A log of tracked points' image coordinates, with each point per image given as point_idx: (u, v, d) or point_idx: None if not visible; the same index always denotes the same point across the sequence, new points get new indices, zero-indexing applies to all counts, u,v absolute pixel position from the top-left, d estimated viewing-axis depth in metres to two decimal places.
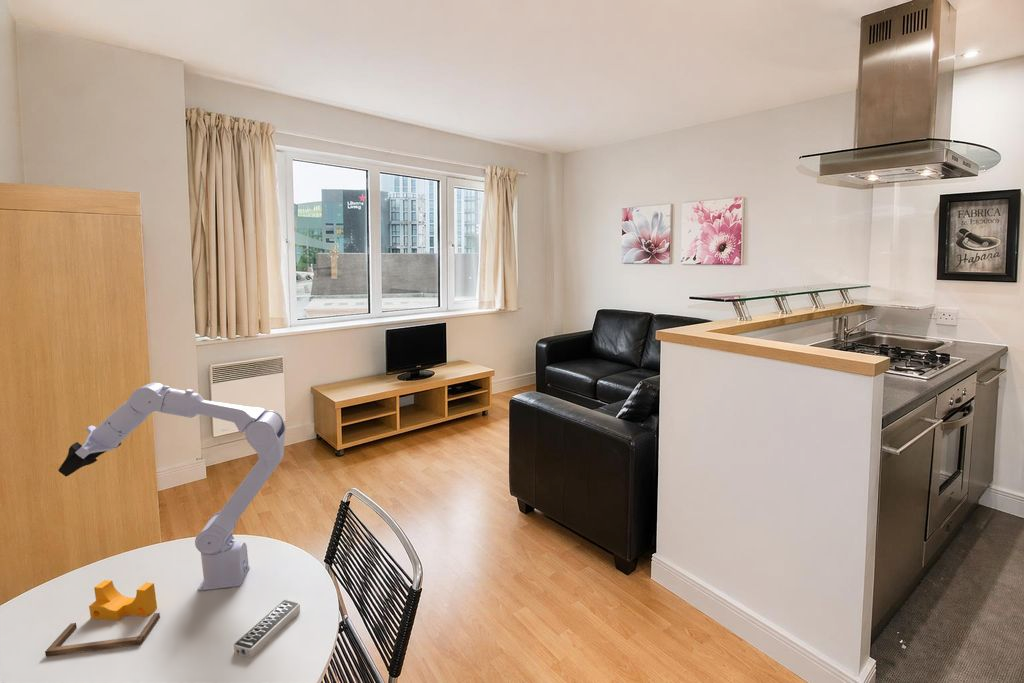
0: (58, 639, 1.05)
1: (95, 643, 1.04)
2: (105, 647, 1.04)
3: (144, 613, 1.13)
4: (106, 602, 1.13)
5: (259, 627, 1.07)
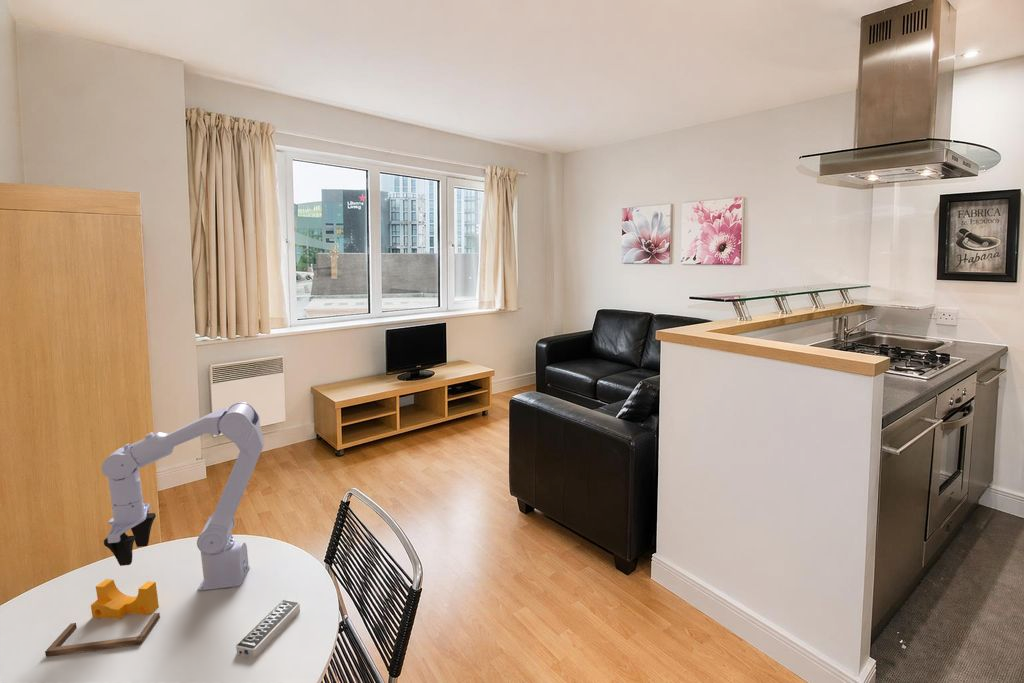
0: (58, 639, 1.05)
1: (95, 643, 1.04)
2: (105, 647, 1.04)
3: (146, 612, 1.14)
4: (108, 601, 1.14)
5: (260, 627, 1.07)
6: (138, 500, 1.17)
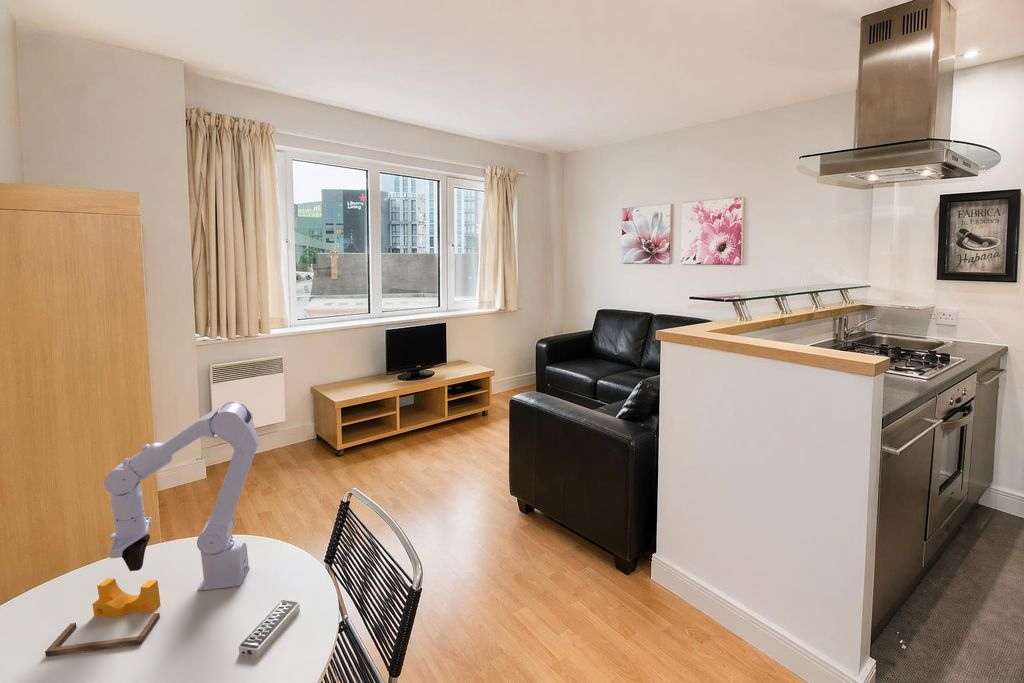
0: (58, 639, 1.05)
1: (95, 643, 1.04)
2: (105, 647, 1.04)
3: (148, 610, 1.14)
4: (109, 600, 1.14)
5: (262, 628, 1.07)
6: (140, 515, 1.17)
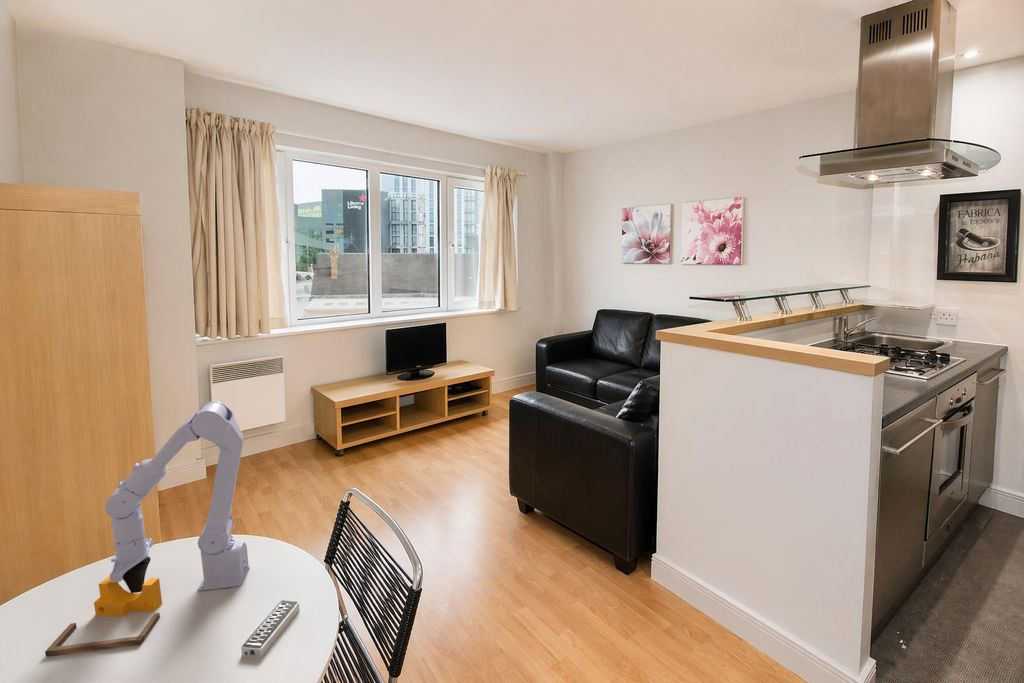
0: (58, 639, 1.05)
1: (95, 643, 1.04)
2: (105, 647, 1.04)
3: (150, 608, 1.15)
4: (111, 598, 1.14)
5: (263, 628, 1.07)
6: (140, 538, 1.17)
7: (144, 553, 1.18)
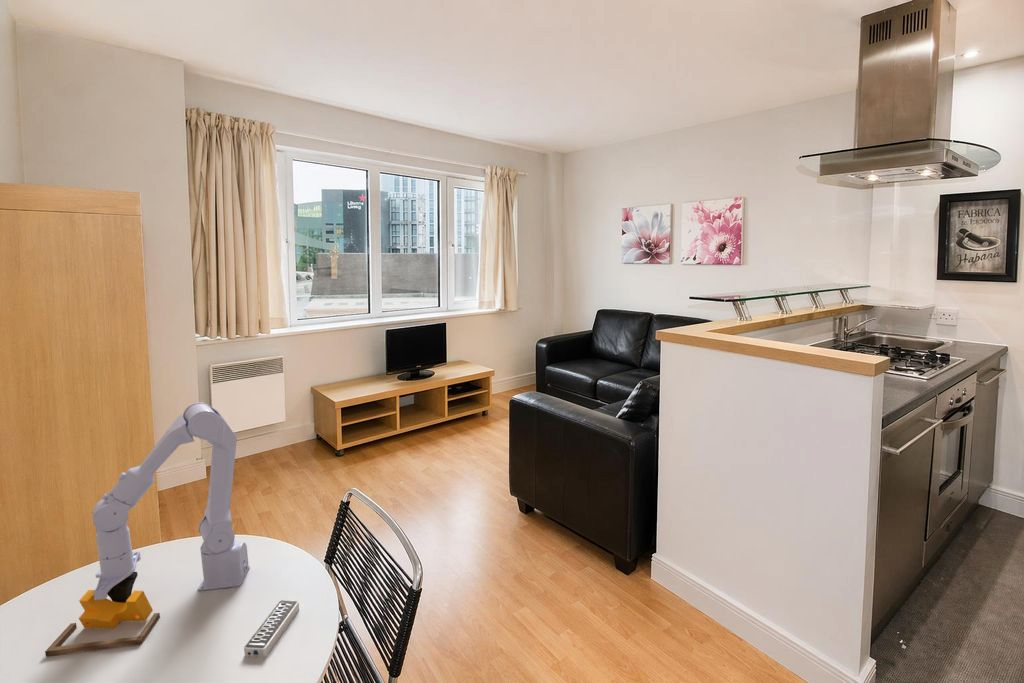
0: (58, 639, 1.05)
1: (95, 643, 1.04)
2: (105, 647, 1.04)
3: (140, 618, 1.11)
4: (96, 612, 1.09)
5: (265, 628, 1.07)
6: (127, 552, 1.11)
7: (131, 568, 1.12)
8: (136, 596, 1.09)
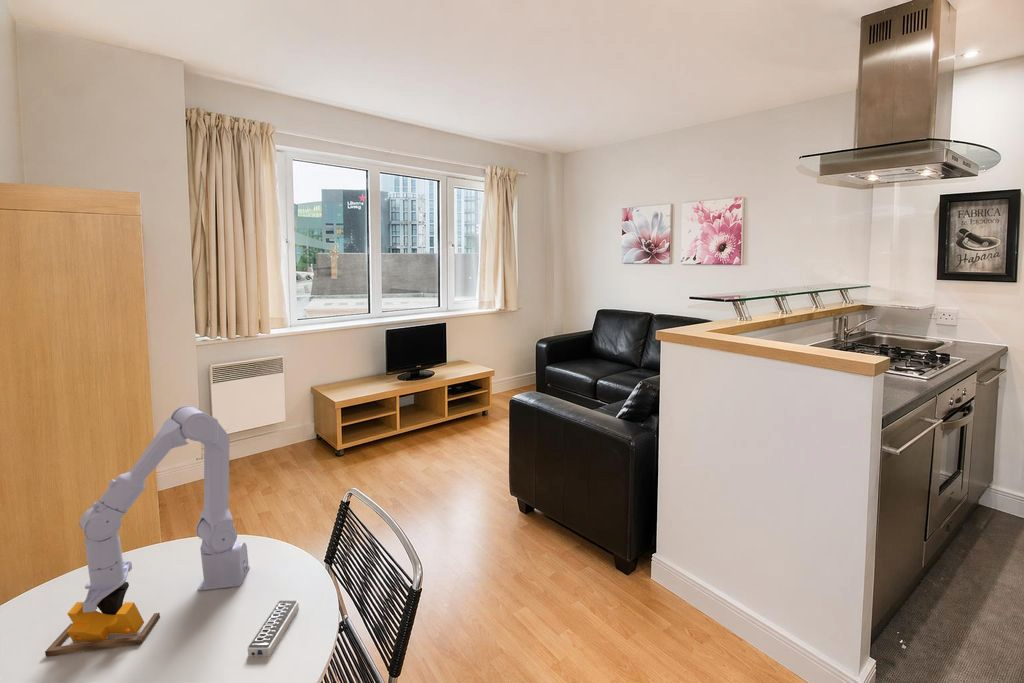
0: (58, 639, 1.05)
1: (95, 643, 1.04)
2: (105, 647, 1.04)
3: (131, 631, 1.07)
4: (85, 625, 1.05)
5: (267, 628, 1.07)
6: (117, 562, 1.08)
7: (121, 579, 1.09)
8: (127, 608, 1.05)
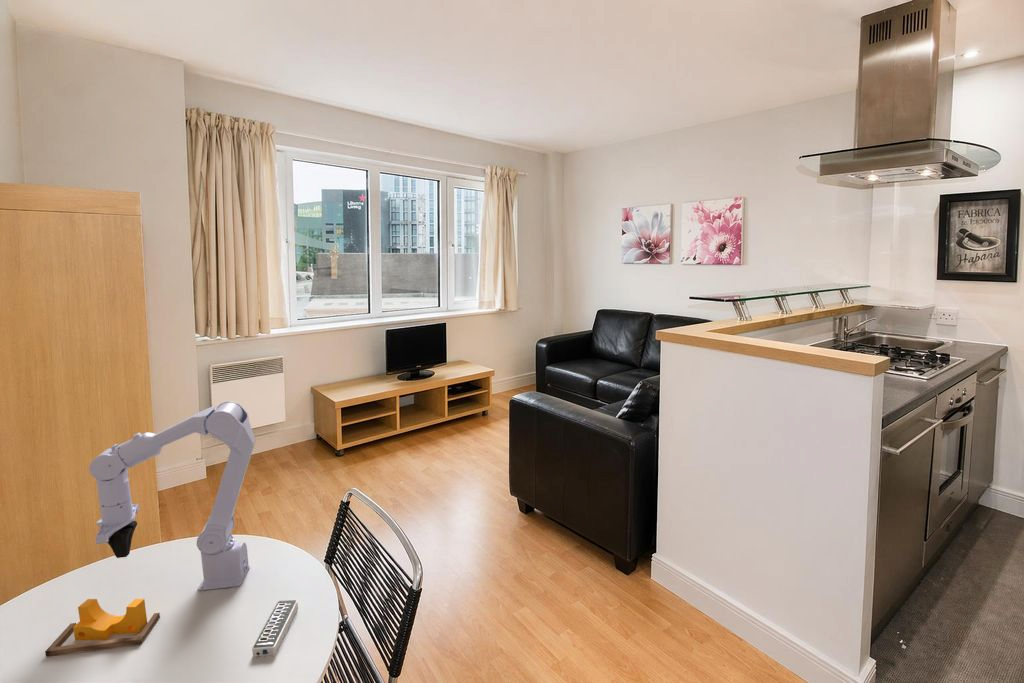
0: (58, 639, 1.05)
1: (95, 643, 1.04)
2: (105, 647, 1.04)
3: (135, 631, 1.08)
4: (92, 622, 1.07)
5: (269, 628, 1.07)
6: (126, 501, 1.16)
7: (130, 517, 1.17)
8: (137, 603, 1.08)
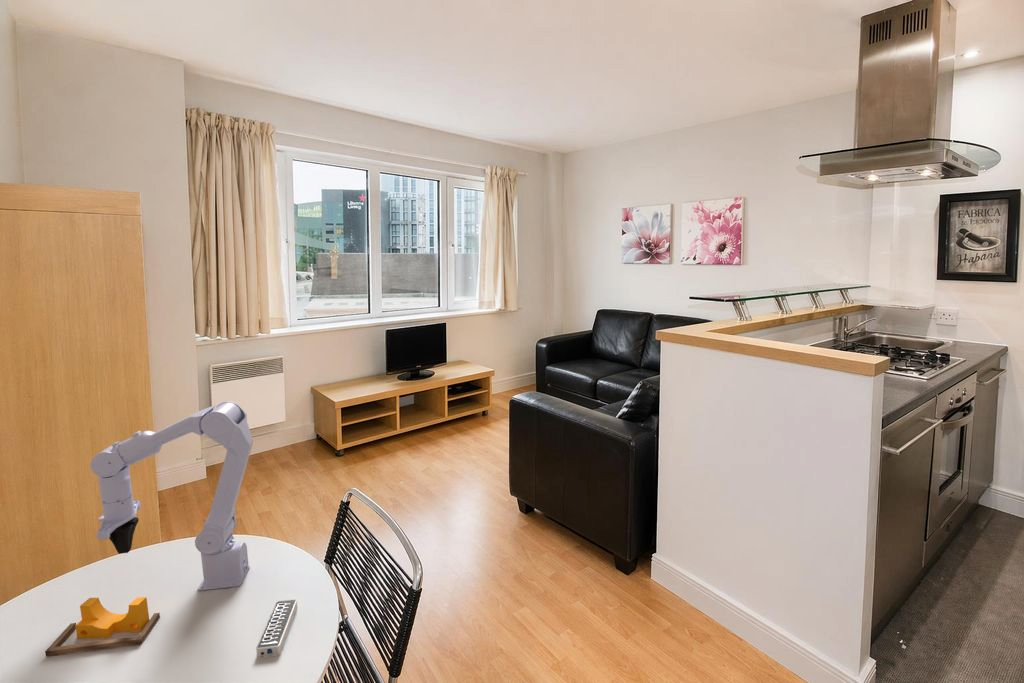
0: (58, 639, 1.05)
1: (95, 643, 1.04)
2: (105, 647, 1.04)
3: (137, 629, 1.09)
4: (94, 620, 1.08)
5: (271, 628, 1.07)
6: (128, 497, 1.18)
7: (132, 513, 1.19)
8: (139, 601, 1.09)
